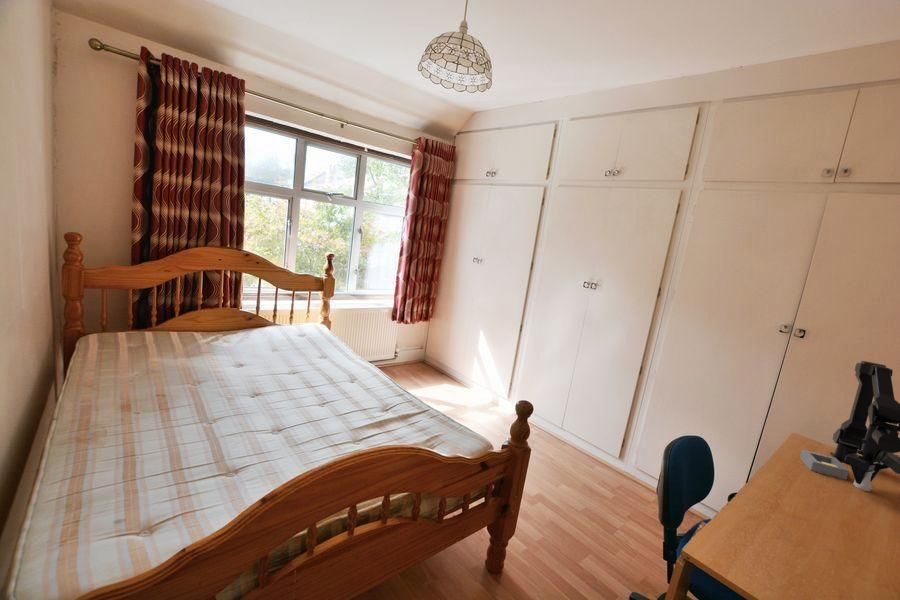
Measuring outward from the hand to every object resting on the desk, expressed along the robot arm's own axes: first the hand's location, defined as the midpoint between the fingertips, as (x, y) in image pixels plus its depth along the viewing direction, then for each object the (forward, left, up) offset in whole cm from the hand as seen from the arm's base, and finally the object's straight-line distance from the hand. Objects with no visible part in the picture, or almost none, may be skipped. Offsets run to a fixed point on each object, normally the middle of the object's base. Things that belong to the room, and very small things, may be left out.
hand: (863, 482), depth 136 cm
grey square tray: (-8, -8, -2) cm, 11 cm away
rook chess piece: (0, 0, -2) cm, 2 cm away
